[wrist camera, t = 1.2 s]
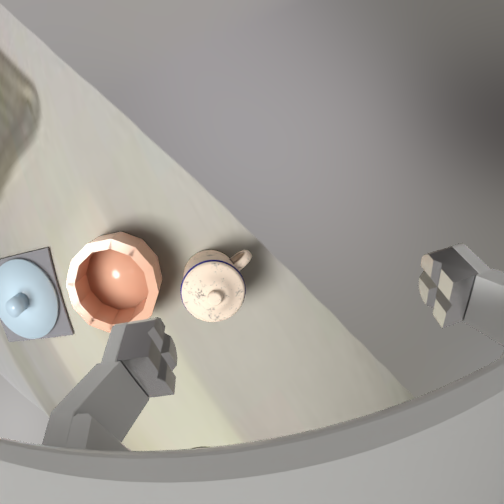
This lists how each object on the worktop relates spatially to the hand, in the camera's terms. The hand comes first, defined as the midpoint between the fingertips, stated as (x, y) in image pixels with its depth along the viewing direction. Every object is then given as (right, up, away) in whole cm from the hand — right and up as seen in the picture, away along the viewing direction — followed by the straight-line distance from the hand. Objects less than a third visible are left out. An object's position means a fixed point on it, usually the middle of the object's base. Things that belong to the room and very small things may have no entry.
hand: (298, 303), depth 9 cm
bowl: (-23, -2, +40) cm, 47 cm away
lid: (-42, -7, +37) cm, 57 cm away
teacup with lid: (-7, -1, +44) cm, 44 cm away
